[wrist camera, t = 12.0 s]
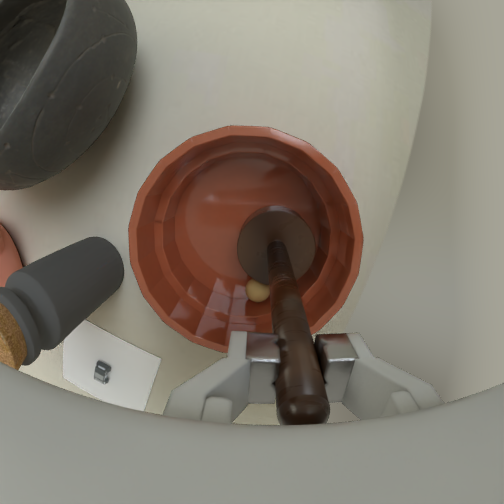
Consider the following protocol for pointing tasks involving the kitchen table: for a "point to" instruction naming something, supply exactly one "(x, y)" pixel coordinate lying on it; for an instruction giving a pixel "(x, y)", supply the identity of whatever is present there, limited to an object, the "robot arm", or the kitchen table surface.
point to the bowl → (59, 81)
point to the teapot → (7, 257)
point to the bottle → (55, 297)
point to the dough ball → (257, 291)
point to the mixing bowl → (238, 230)
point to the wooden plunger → (287, 308)
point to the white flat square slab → (108, 366)
